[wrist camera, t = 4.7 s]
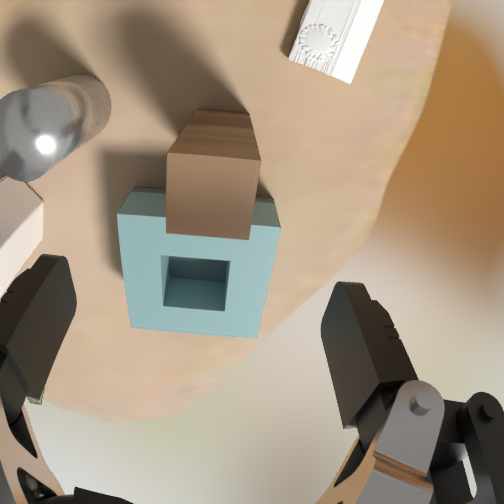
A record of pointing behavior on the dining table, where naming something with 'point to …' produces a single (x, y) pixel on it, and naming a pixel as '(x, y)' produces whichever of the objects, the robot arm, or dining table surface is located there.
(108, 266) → the dining table surface
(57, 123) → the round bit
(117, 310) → the dining table surface
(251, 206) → the square peg
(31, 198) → the jar
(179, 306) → the socket block
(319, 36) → the white long flat piece
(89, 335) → the dining table surface
